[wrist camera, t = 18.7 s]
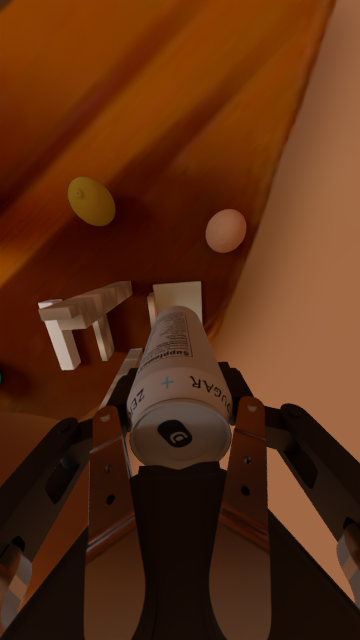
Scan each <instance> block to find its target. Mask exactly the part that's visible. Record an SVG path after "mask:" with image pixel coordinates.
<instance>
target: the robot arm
mask: <svg viewBox="0 0 360 640" xmlns="http://www.w3.org/2000/svg"><path fill="white" fill-rule="evenodd" d="M218 365H219V367H220V370H221V372H222V374H223V377H224V379H225V382H226V384H227V387H228V389H229V391H230V394H231V397H232V402H233V410H232V416H231V420H230V425H232V426H234V425H235V428H234V433H233V438H232V444H231V450H230V456H229V462H228V468H227V470H224V469H221V468H220V465H219V461H210V462H199V463H196V464H193V465H191V466H188V467H186V468H183V469H180V470H177V469H173V468H169V467H165V466H161V465H149V466H139V471H138V474H137V475H135V476H133V475H132V471H131V466H130V461H129V455H128V450H127V445H126V441H125V437H126V434H127V432H130V431H131V426H130V423H129V420H128V415H127V400H128V397H129V394H130V391H131V388H132V385H133V383H134V380H135V377H136V374H137V371H138V368H130V369H129V371H128V374H127V375H123V376H122V377H121V378H120V379H119V380H118V382H117V384H116V386H115V388H114V391H113V392H112V394H111V396H110V398H109V400H108V402H107V404H106V406H105V407H103V408H101V409H100V410H98V411H97V412H96V413H95V415H94V417H93V418H91V419H88V420H86V421H83V422H80V423H78V421H77V419H76V418H67V419H64V420H62V421H60V422H59V423H57V424H56V425H55V426H54V427H53V428H52V429H51V430H50V431H49V432H48V434H47V435H46V436H45V437H44V438H43V439H42V440H41V442H40V443H39V444H38V445H37V446H36V447H35V448H34V450H33V451H32V452H31V453H30V454H29V455H28V456H27V457H26V459H25V460H24V461H23V462H22V463H21V464H20V465H19V467H18V468H17V469H16V470H15V471H14V472H13V473H12V475H11V476H10V477H9V478H8V479H7V480H6V481H5V482H4V484H3V485H2V486H1V487H0V640H360V463H359V462H358V461H357V460H356V459H355V458H354V457H353V456H352V455H351V454H350V453H349V452H348V451H347V450H346V449H345V448H344V447H342V445H340V444H339V443H338V442H337V441H336V440H335V439H334V438H333V437H332V436H331V435H330V434H329V433H328V432H327V431H326V430H325V429H324V428H323V427H322V426H321V425H320V424H319V423H318V422H317V421H316V420H315V419H314V418H313V417H312V416H311V415H310V414H308V413H307V412H306V411H305V410H304V409H303V408H301V407H299V406H297V405H294V404H289V403H287V404H283V405H282V406H281V408H280V409H276V408H271V407H267V406H264V405H263V403H262V402H261V401H260V400H259V399H257V398H255V397H254V396H253V394H252V393H251V391H250V389H249V387H248V385H247V384H246V382H245V380H244V379H243V377H242V375H241V373H240V371H238V370H237V369H236V368H230V366H229V365H228V362H218ZM267 447H269V448H273V449H277V451H278V453H279V454H280V456H281V457H282V459H283V460H284V462H285V463H286V465H287V466H288V467H289V469H290V471H291V472H292V474H293V475H294V477H295V478H296V480H297V481H298V483H299V484H300V486H301V487H302V489H303V490H304V492H305V493H306V495H307V496H308V498H309V499H310V501H311V502H312V504H313V506H314V507H315V508H316V510H317V511H318V513H319V515H320V516H321V517H322V519H323V521H324V522H325V524H326V525H327V526H328V528H329V530H330V531H331V533H332V534H333V536H334V537H335V539H336V540H337V542H338V544H337V548H336V550H337V557H338V560H339V563H340V566H341V568H342V570H343V572H344V574H345V576H346V578H347V580H348V582H349V584H350V586H351V589H352V592H353V595H354V599H355V603H354V602H353V601H352V600H351V599H350V598H349V597H348V596H347V595H346V593H345V592H344V591H343V590H342V589H341V588H340V587H339V586H338V585H337V584H336V583H335V582H334V580H333V579H332V578H331V577H330V576H329V575H328V574H327V573H326V572H325V571H324V569H323V568H322V567H321V566H320V565H319V564H318V563H317V562H316V561H315V559H313V557H312V556H311V555H310V554H309V553H308V552H307V551H306V550H305V549H304V547H303V546H302V545H301V544H300V543H299V542H298V541H297V540H296V539H295V537H293V535H292V534H291V533H290V532H289V531H288V530H287V529H286V528H285V526H284V525H283V524H282V523H281V522H280V521H279V520H278V519H277V518H276V517H275V516H274V514H273V513H272V512H271V511H270V510H269V509H268V494H267ZM88 461H89V463H90V465H89V525H88V526H87V527H86V528H85V530H84V531H83V532H82V533H81V535H80V536H79V537H78V539H77V540H76V541H75V542H74V544H73V545H72V546H71V547H70V549H69V550H68V551H67V553H66V554H65V555H64V556H63V557H62V559H61V560H60V561H59V563H58V564H57V565H56V566H55V568H54V569H53V570H52V571H51V573H50V574H49V575H48V576H47V578H46V579H45V580H44V581H43V583H42V584H41V585H40V586H39V588H38V589H37V590H36V592H35V593H34V594H33V595H32V597H31V598H30V599H29V600H28V602H27V603H26V604H25V605H24V607H23V608H22V609H21V610H20V612H19V613H18V609H19V607H20V606H21V604H22V602H23V600H24V597H25V594H26V589H27V587H28V584H29V582H30V578H31V573H32V565H31V563H32V561H33V559H34V557H35V556H36V554H37V552H38V550H39V548H40V546H41V545H42V543H43V541H44V539H45V538H46V536H47V534H48V532H49V530H50V529H51V527H52V525H53V523H54V522H55V520H56V518H57V516H58V514H59V512H60V511H61V509H62V507H63V506H64V504H65V502H66V500H67V498H68V497H69V495H70V493H71V491H72V489H73V488H74V486H75V484H76V482H77V481H78V479H79V477H80V475H81V473H82V471H83V470H84V468H85V466H86V464H87V463H88ZM55 467H56V468H55ZM53 470H54V471H53ZM17 613H18V614H17Z"/></svg>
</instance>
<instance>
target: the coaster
mask: <svg viewBox="0 0 360 640" xmlns="http://www.w3.org/2000/svg"><path fill="white" fill-rule="evenodd" d="M153 290H154V293H155V295H156V303H157V311H158V315H159V314H160V313H161V312H162V311H163V310H164V309H166V308H168V307H171V306H184V307H187V308H189V309H191V310H193V311H194V312H195V313H196V314H197V315H198V317H199V319H200V321H201V324H202V300H201V281H194V282H180V283H167V284H154V285H153Z"/></svg>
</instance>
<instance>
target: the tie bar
mask: <svg viewBox="0 0 360 640" xmlns="http://www.w3.org/2000/svg"><path fill="white" fill-rule="evenodd" d="M61 301H62V299H58V300H48V301H44V302H41V303H38V304H39V307H40V309H41V308H44V307H47V306H50V305H53V304H56V303H58V302H61ZM45 324H46V327H47V329H48V332H49V335H50V338H51V341H52V343H53V346H54V349H55V352H56V354H57V357H58V360H59V363H60V366H61V368H62V370H73V369H75V368H76V367H77V366H78V365H79V364H80V363H81V360H80V357H79V354H78V350H77V347H76V344H75V341H74V337H73V334H72V331H71V330H60V329H59V326H58V323H57V320H50V321H45Z"/></svg>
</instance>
